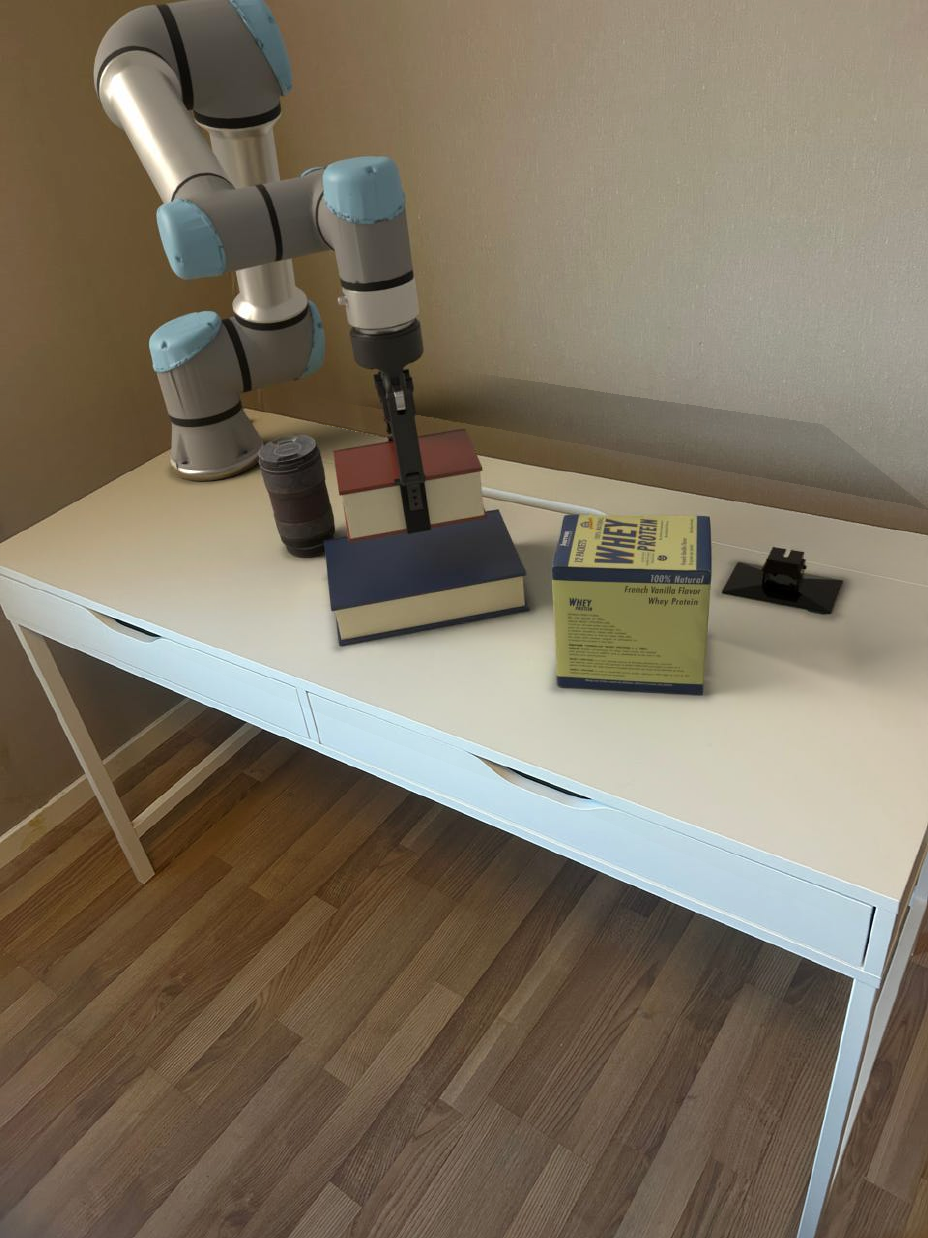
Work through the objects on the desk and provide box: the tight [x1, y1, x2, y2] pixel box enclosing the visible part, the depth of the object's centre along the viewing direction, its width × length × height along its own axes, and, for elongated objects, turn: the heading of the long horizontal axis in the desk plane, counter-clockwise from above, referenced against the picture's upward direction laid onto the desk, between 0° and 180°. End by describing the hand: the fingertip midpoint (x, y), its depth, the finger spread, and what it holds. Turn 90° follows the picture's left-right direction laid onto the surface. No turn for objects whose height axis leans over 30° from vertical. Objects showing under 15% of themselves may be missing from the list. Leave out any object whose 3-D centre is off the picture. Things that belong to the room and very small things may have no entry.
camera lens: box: [258, 434, 336, 558], centre depth 126 cm, size 8×8×15 cm
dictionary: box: [332, 428, 487, 543], centre depth 108 cm, size 11×16×6 cm
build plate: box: [721, 546, 844, 616], centre depth 109 cm, size 12×7×5 cm, turn 61°
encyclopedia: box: [324, 508, 530, 647], centre depth 116 cm, size 16×23×6 cm
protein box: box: [550, 514, 713, 696], centre depth 97 cm, size 10×16×16 cm
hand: (412, 506), depth 110 cm, fingers closed on dictionary, 11 cm apart
